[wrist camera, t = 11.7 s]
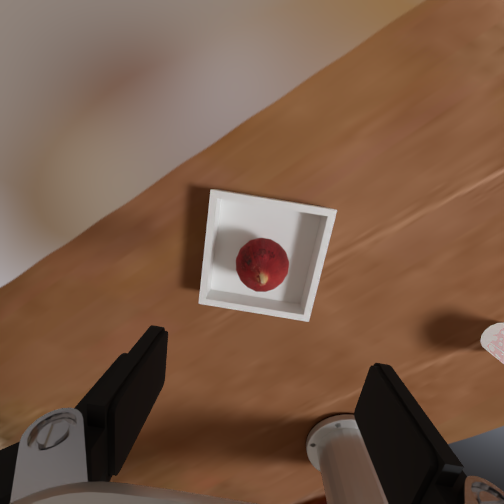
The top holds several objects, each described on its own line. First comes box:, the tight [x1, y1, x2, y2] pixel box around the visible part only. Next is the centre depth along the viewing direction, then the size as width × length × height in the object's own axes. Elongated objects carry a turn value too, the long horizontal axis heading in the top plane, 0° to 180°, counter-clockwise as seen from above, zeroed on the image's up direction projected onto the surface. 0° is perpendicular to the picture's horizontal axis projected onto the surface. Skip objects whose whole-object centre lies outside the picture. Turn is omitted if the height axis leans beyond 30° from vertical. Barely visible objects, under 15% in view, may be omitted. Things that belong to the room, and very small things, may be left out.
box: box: [199, 189, 337, 322], centre depth 28 cm, size 14×14×4 cm
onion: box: [236, 238, 289, 292], centre depth 25 cm, size 6×6×8 cm
